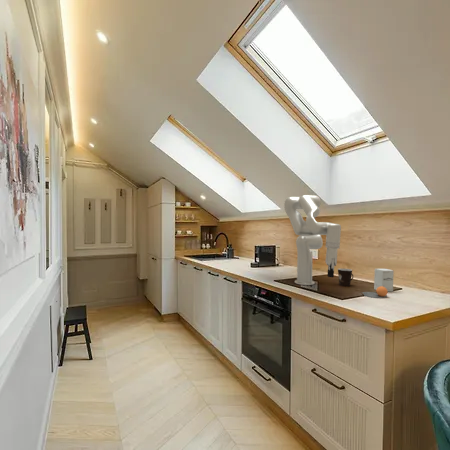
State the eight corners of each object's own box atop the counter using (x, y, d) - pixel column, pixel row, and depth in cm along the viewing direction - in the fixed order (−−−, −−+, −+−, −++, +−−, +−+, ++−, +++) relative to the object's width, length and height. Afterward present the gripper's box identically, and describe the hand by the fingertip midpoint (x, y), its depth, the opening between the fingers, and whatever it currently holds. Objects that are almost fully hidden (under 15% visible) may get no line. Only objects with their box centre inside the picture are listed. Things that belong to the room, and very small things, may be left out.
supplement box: (382, 292, 170) (382, 270, 170) (373, 289, 178) (374, 268, 177) (393, 291, 171) (394, 270, 171) (384, 288, 179) (385, 268, 179)
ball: (388, 290, 161) (381, 297, 162) (380, 283, 163) (373, 290, 164) (390, 292, 156) (383, 299, 157) (382, 285, 157) (374, 292, 158)
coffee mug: (336, 283, 193) (336, 268, 193) (350, 284, 191) (350, 268, 191) (339, 287, 182) (339, 271, 181) (354, 288, 180) (354, 271, 180)
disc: (358, 291, 170) (358, 291, 170) (382, 293, 168) (382, 292, 168) (364, 297, 158) (364, 296, 158) (390, 298, 155) (390, 298, 155)
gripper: (324, 243, 175) (322, 273, 177) (327, 246, 161) (325, 279, 162) (337, 243, 174) (335, 274, 175) (342, 247, 159) (339, 280, 161)
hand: (330, 276), depth 169 cm, fingers closed
